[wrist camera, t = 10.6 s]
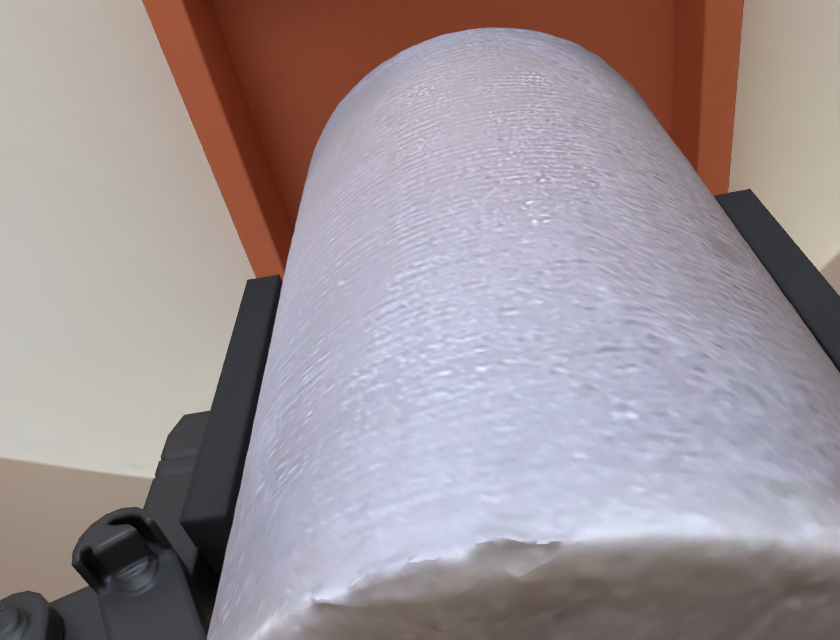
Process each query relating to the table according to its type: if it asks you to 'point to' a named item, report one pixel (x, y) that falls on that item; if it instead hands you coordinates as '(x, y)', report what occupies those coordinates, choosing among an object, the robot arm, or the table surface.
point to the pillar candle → (528, 380)
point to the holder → (386, 37)
